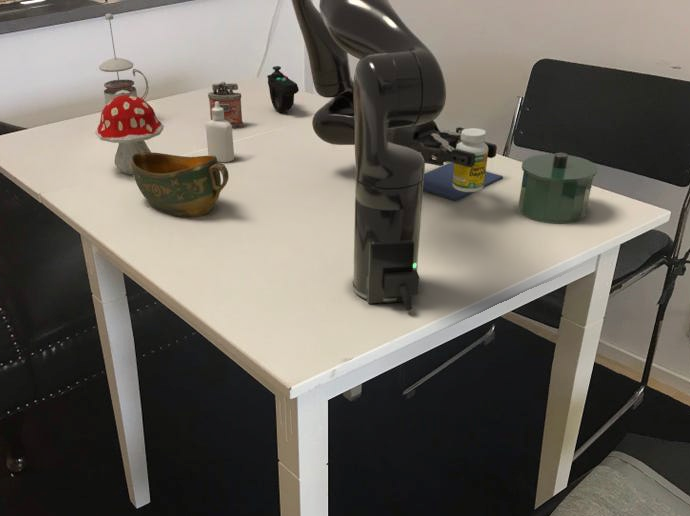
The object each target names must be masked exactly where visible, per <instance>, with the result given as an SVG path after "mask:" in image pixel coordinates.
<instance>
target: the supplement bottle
mask: <svg viewBox="0 0 690 516" xmlns="http://www.w3.org/2000/svg"><path fill="white" fill-rule="evenodd" d="M486 138H487V131H486V130H484V129H482V128H476V127H475V128H474V127H471V128H464V130H462V132H461V141H462V142H460V143H459V144H457V146H456V149H459V150H463V151H467V152H470V153H474V154H475V156H476V157H475V165H474V166H473V167H466V166H463V165H459V164H456V163H454V174H453V187H454V188H455V189H457V190H459V191H463V192H472V193H474V192H479V191H481V190H483V188H484V187H483V186H484V181H485V173H486V172H487V164H488V146H487V145H486V144H485V143H484V142H486Z"/></svg>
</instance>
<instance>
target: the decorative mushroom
mask: <svg viewBox="0 0 690 516" xmlns="http://www.w3.org/2000/svg"><path fill="white" fill-rule="evenodd" d="M143 99H144V98H142V99H141V97H140V96H138V95H137V96H133V95H121V96H118V97H116V98H114V99H112V100H111V101H110V102H109V103H108V104H107V105H106V104H105V106H104V108H103V109H102V111H101V113H100V120H99V124H98V126H97V128H96V130H95V132H94V133H95V135H96V136H97V137H98V138H99V139H100V140H101V141H102V142H103V141H104V142H108V143H112V144H118V145H117V150H116V152H115V155H114V165H115V166H116V167H117V168H118V170H119V171H120V173H123V174H126V175H133V171H132V164H131V158H132V156H133V155H134V154H136V153H143V152H152V151H151V150H150V148H149V147H148V145H147V143H146V141H147V140H151V139H153V138H155V137H157V136H160V135H161V133H162V132H163V131H164V127H165V125H164V124H163V123H162V122H161V120H159V119H158V117H157V115H156V113H155V110H154V108H153V107H152V106H151V105H150V104H149V103H148V102H147V101H146V100H145V99H144V100H143Z"/></svg>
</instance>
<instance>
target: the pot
mask: <svg viewBox="0 0 690 516" xmlns="http://www.w3.org/2000/svg"><path fill="white" fill-rule="evenodd" d="M593 180H594V177H592V178H590V179H587V180H584V181H578V182H554V181H547V180H542V179H538V178H535V177H533V176H530V175H528V174H527V173H525V172H524V171H523V173H522V181H521V187H520V192H519V193H520V194H519V200H518V211H519V213H520V214H521V215H523V216H524V217H526V218H528V219H531V220H533V221H536V222H541V223H545V224H546V223H547V224H569V223H574V222H578V221H580V220H582V219H583V218H584V217H585V216H586V214H587V209H588V204H589V199H590V195H591V189H592V185H593Z"/></svg>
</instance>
